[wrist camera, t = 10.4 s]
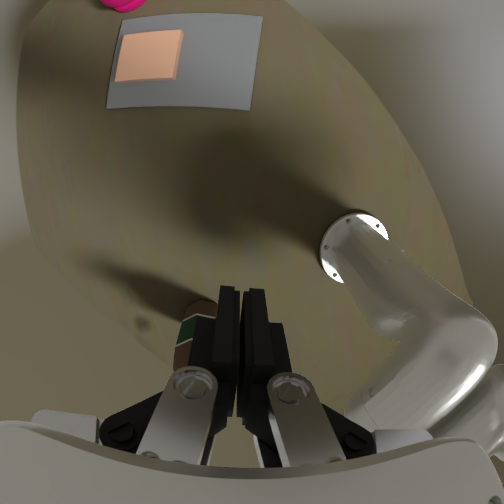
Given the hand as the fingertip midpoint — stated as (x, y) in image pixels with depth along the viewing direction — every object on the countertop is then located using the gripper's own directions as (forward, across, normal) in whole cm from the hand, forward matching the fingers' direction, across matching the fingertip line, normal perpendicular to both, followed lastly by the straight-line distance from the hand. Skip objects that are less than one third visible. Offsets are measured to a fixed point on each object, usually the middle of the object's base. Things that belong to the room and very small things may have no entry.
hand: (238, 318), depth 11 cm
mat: (+31, +11, -19) cm, 38 cm away
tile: (+30, +11, -19) cm, 37 cm away
